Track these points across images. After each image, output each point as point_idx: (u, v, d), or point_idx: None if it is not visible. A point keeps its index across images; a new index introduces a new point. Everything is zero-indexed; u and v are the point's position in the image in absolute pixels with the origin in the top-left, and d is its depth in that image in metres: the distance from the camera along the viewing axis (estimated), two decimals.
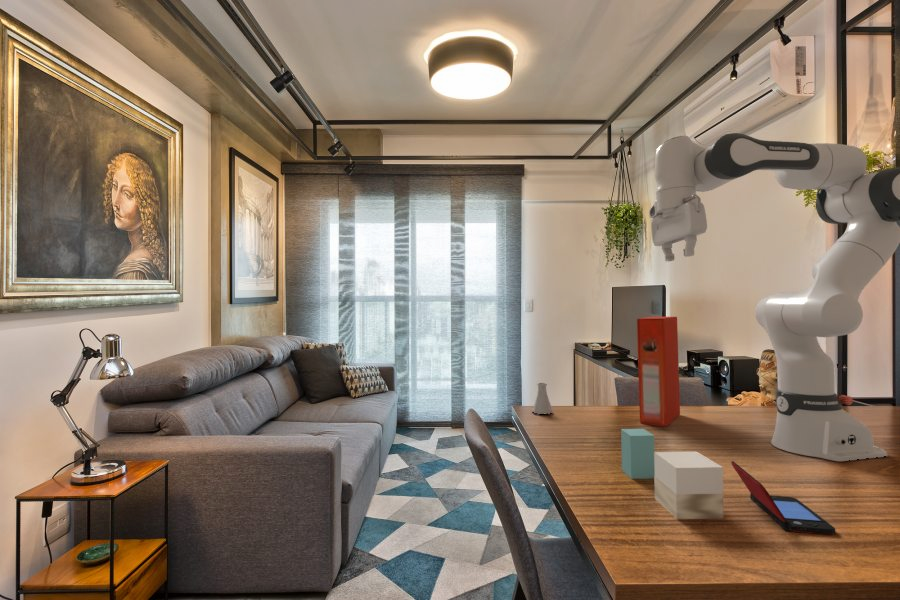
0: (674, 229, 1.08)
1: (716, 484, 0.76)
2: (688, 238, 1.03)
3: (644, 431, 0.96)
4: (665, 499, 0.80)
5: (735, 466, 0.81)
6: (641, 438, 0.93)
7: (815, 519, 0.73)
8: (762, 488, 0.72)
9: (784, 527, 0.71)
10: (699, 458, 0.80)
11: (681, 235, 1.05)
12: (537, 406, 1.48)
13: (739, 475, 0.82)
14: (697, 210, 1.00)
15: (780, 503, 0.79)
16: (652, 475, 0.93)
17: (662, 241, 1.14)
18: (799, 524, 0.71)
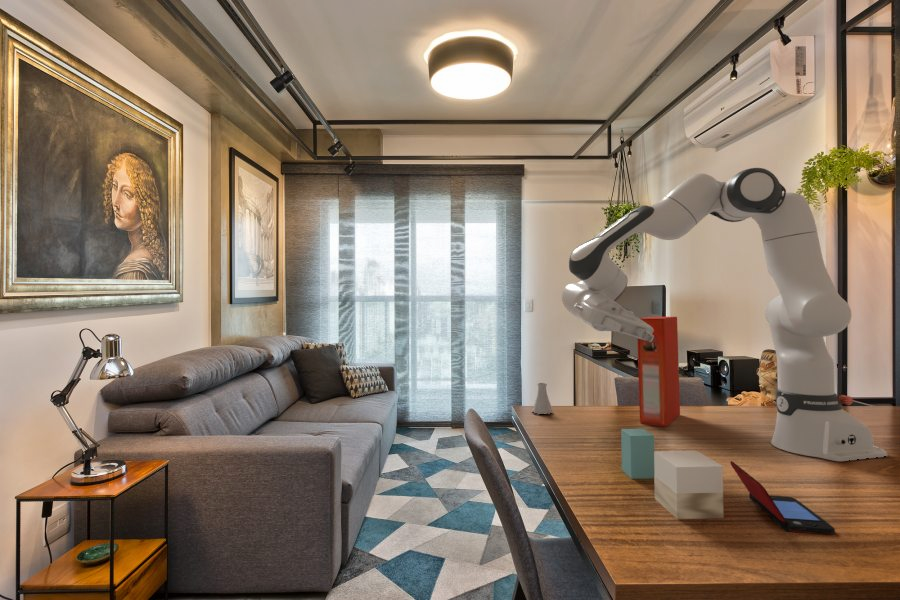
0: None
1: (716, 483, 0.76)
2: (604, 324, 1.06)
3: (644, 431, 0.96)
4: (665, 499, 0.80)
5: (734, 466, 0.81)
6: (641, 438, 0.93)
7: (814, 518, 0.73)
8: (762, 488, 0.72)
9: (784, 527, 0.71)
10: (699, 457, 0.80)
11: (604, 327, 1.08)
12: (537, 406, 1.48)
13: (738, 475, 0.82)
14: (581, 310, 1.10)
15: (779, 503, 0.79)
16: (652, 475, 0.93)
17: None
18: (799, 524, 0.71)
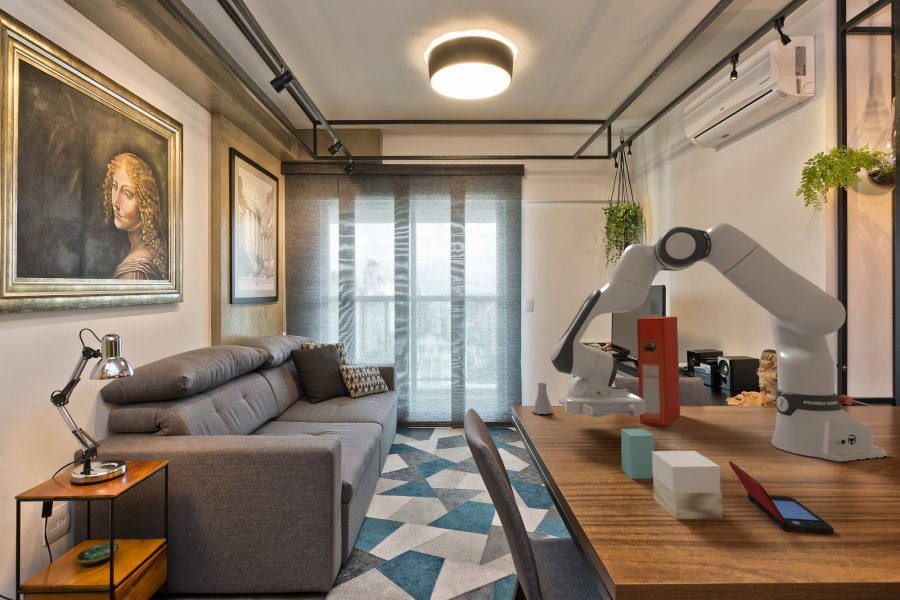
0: None
1: (713, 483, 0.76)
2: (582, 411, 1.12)
3: (644, 431, 0.96)
4: (664, 499, 0.80)
5: (733, 466, 0.81)
6: (641, 438, 0.93)
7: (813, 518, 0.73)
8: (761, 488, 0.72)
9: (783, 528, 0.71)
10: (696, 457, 0.80)
11: None
12: (537, 406, 1.48)
13: (737, 475, 0.82)
14: (563, 403, 1.18)
15: (778, 503, 0.79)
16: (652, 475, 0.93)
17: None
18: (798, 524, 0.71)
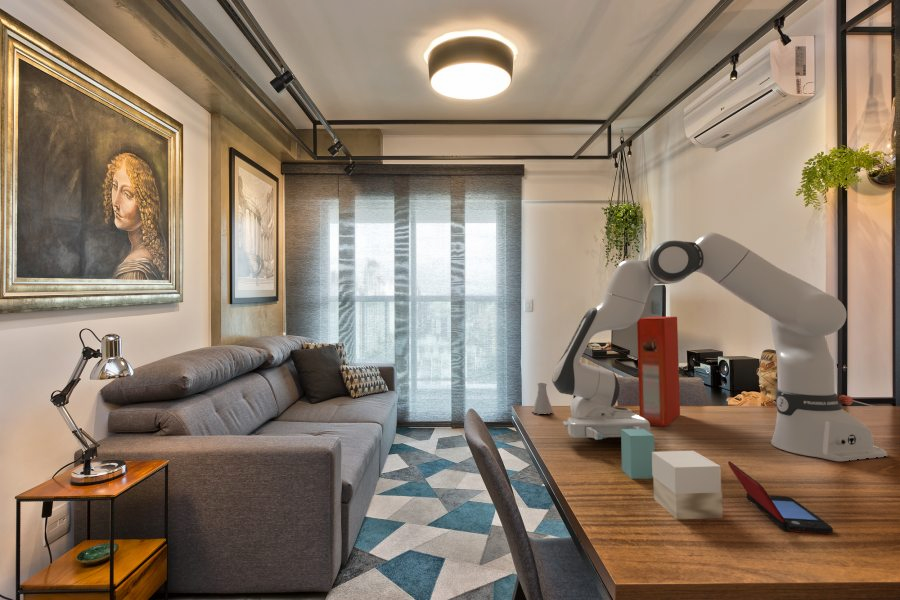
0: None
1: (714, 483, 0.76)
2: (586, 435, 1.10)
3: (644, 431, 0.96)
4: (664, 499, 0.80)
5: (732, 466, 0.81)
6: (641, 438, 0.93)
7: (812, 518, 0.73)
8: (761, 488, 0.72)
9: (783, 527, 0.71)
10: (696, 457, 0.80)
11: (591, 437, 1.11)
12: (537, 406, 1.48)
13: (736, 475, 0.82)
14: (567, 426, 1.16)
15: (777, 503, 0.79)
16: None
17: None
18: (798, 524, 0.71)
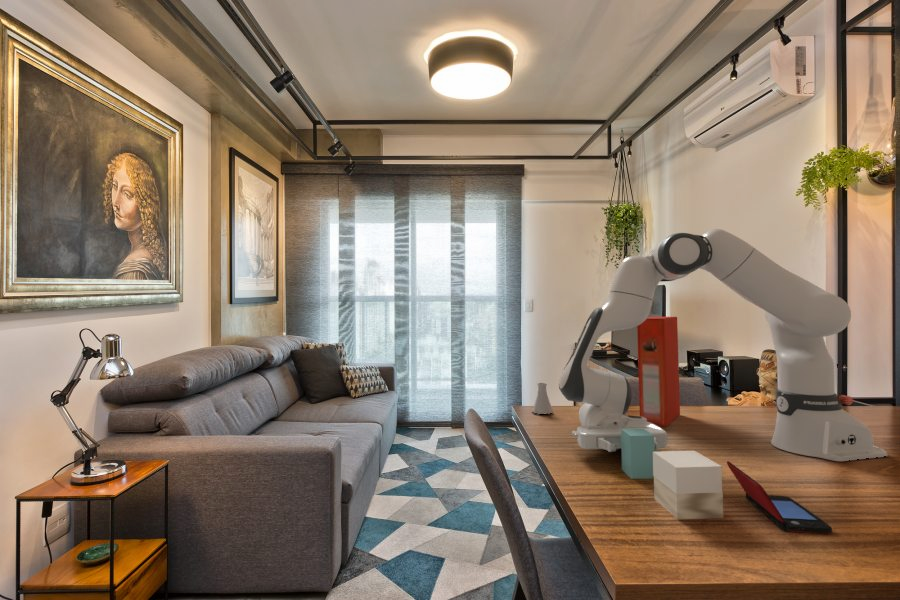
0: None
1: (715, 483, 0.76)
2: (598, 446, 1.01)
3: (644, 431, 0.96)
4: (665, 499, 0.80)
5: (731, 466, 0.81)
6: (641, 438, 0.93)
7: (811, 518, 0.73)
8: (761, 488, 0.72)
9: (782, 528, 0.71)
10: (697, 457, 0.80)
11: None
12: (537, 406, 1.48)
13: (735, 475, 0.82)
14: (577, 436, 1.07)
15: (776, 502, 0.79)
16: (652, 475, 0.93)
17: None
18: (797, 524, 0.71)
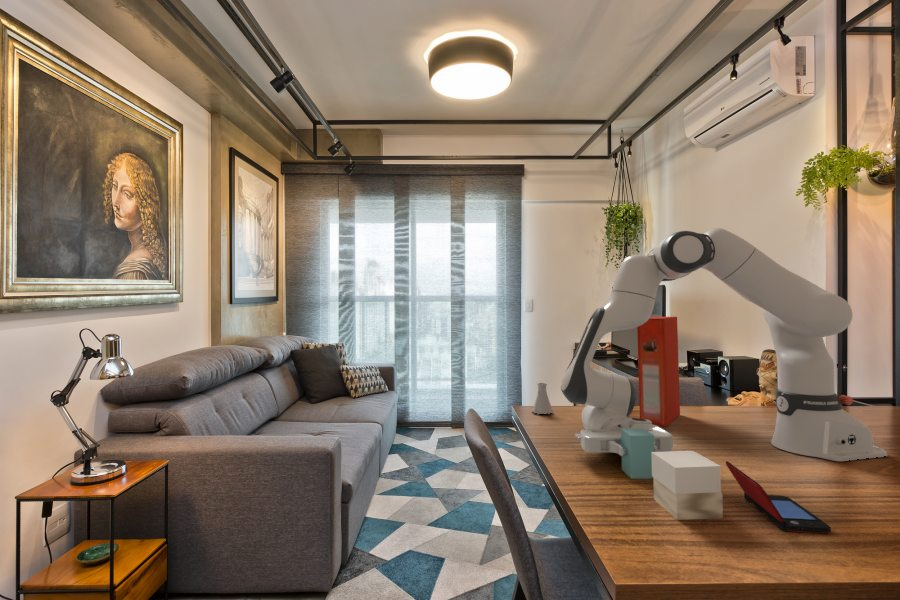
0: None
1: (714, 483, 0.76)
2: (609, 450, 0.99)
3: (644, 431, 0.96)
4: (664, 499, 0.79)
5: (730, 466, 0.81)
6: (641, 438, 0.93)
7: (810, 518, 0.73)
8: (760, 488, 0.72)
9: (782, 527, 0.71)
10: (696, 457, 0.80)
11: (607, 452, 1.00)
12: (537, 406, 1.48)
13: (734, 475, 0.82)
14: (580, 439, 1.04)
15: (774, 502, 0.79)
16: None
17: None
18: (796, 523, 0.71)
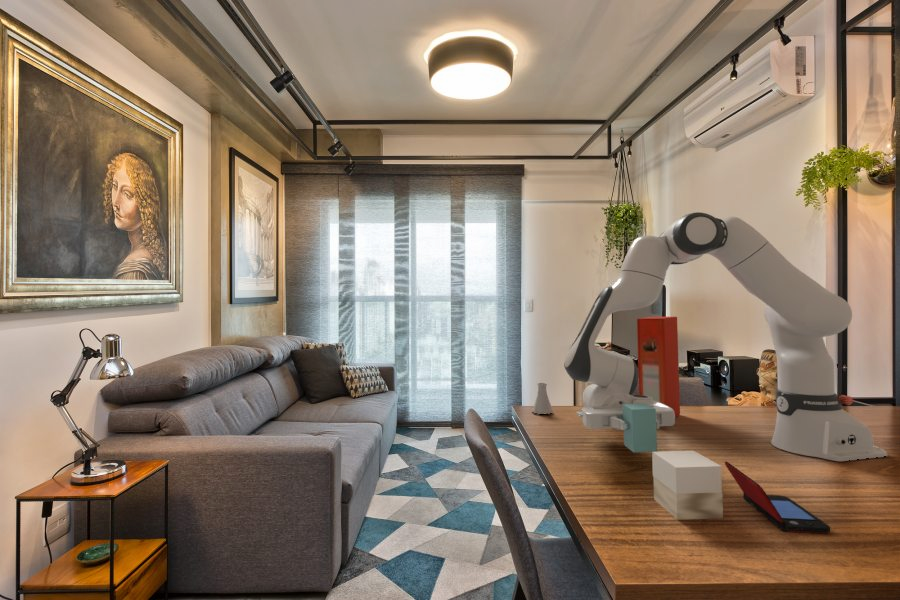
0: None
1: (715, 483, 0.76)
2: (611, 425, 0.99)
3: (645, 405, 0.96)
4: (664, 499, 0.79)
5: (729, 466, 0.81)
6: (643, 412, 0.93)
7: (809, 518, 0.73)
8: (760, 489, 0.72)
9: (781, 528, 0.71)
10: (697, 457, 0.80)
11: None
12: (537, 406, 1.48)
13: (733, 475, 0.82)
14: (582, 416, 1.04)
15: (774, 502, 0.79)
16: (654, 448, 0.93)
17: None
18: (796, 524, 0.71)
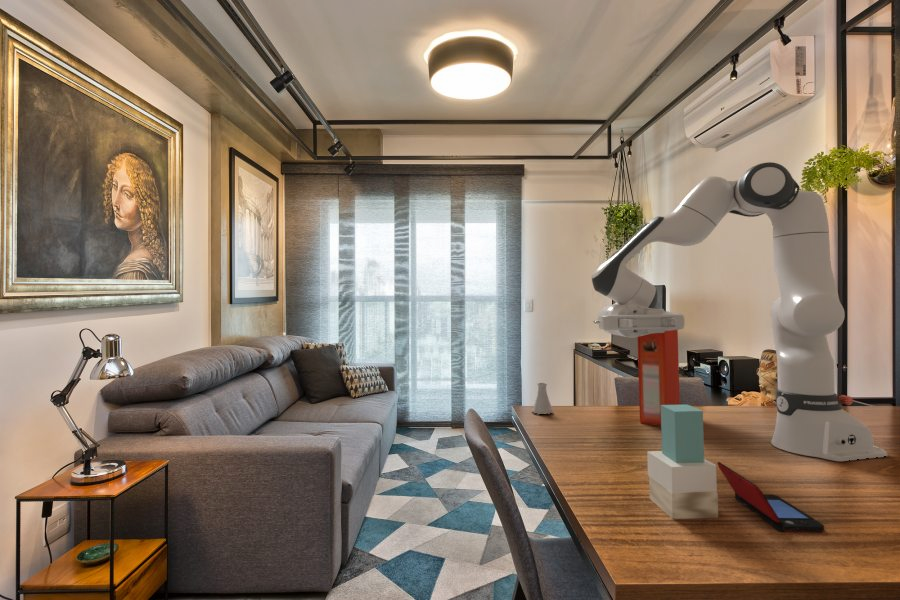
0: None
1: (710, 482, 0.76)
2: (620, 326, 1.08)
3: (689, 407, 0.81)
4: (660, 499, 0.80)
5: (723, 467, 0.81)
6: (687, 415, 0.78)
7: (803, 516, 0.74)
8: (757, 490, 0.71)
9: (778, 528, 0.71)
10: None
11: (624, 329, 1.09)
12: (537, 406, 1.48)
13: (725, 476, 0.82)
14: (598, 322, 1.14)
15: None
16: (701, 458, 0.78)
17: (662, 329, 1.09)
18: (792, 523, 0.71)
